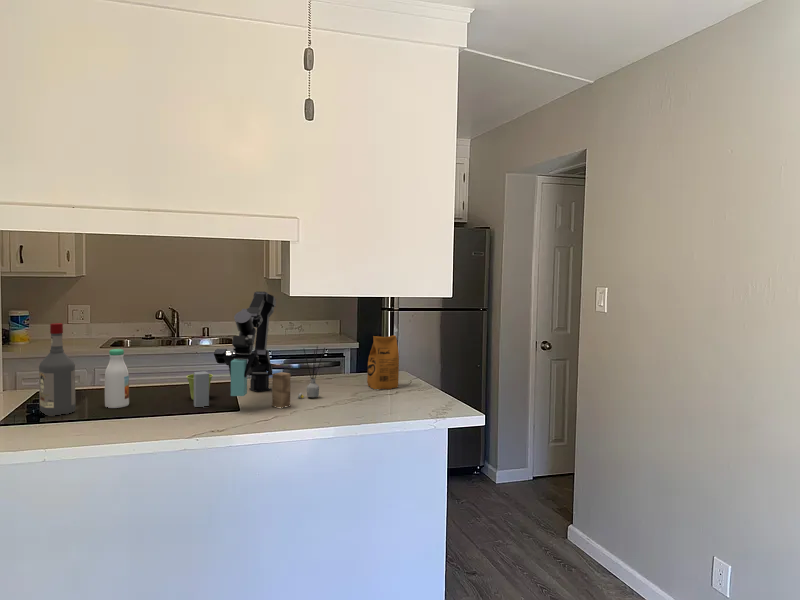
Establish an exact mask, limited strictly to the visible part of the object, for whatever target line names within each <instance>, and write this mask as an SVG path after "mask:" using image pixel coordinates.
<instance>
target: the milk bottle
mask: <svg viewBox="0 0 800 600" xmlns="http://www.w3.org/2000/svg"><path fill="white" fill-rule="evenodd" d="M124 353H125V350H124V349H123V348H122V349H121V348H115V349H110V350H109V354H108V355H109V362H108V364H107V367H106V368H105V371H104V373H105V374H104V407H105V408H107V407H108V409H117V408H118V409H119V408H125V407H128V406H129V404H130V378H129V377H130V376H129V369H128V367H127V365H126V363H125V360H124V356H125V355H124Z"/></svg>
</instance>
